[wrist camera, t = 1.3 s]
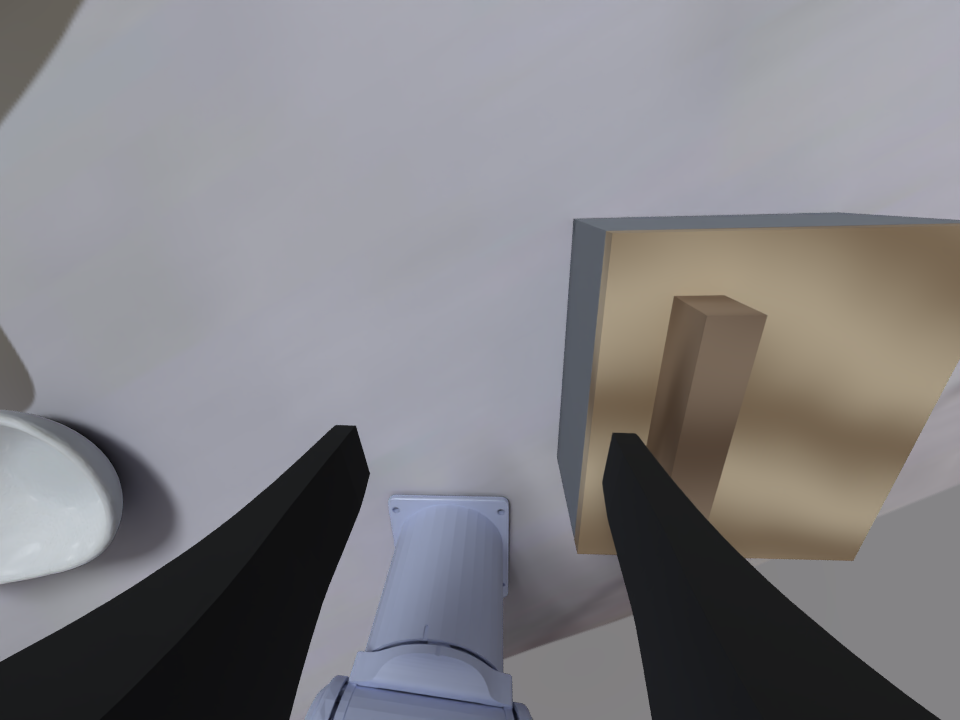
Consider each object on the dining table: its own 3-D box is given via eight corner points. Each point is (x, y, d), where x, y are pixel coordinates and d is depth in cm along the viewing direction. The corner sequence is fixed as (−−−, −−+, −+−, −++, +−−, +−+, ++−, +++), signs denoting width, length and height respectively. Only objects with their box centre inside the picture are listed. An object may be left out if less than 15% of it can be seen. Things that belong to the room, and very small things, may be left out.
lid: (838, 545, 18) (900, 610, 15) (574, 539, 18) (587, 600, 15) (997, 222, 12) (1146, 231, 9) (605, 231, 13) (635, 241, 10)
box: (756, 459, 23) (836, 543, 18) (556, 457, 24) (574, 537, 18) (838, 212, 17) (994, 222, 12) (573, 218, 18) (605, 230, 13)
